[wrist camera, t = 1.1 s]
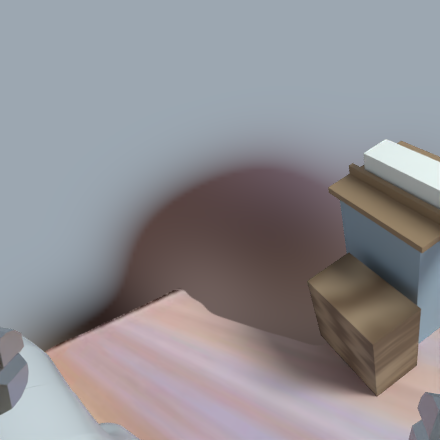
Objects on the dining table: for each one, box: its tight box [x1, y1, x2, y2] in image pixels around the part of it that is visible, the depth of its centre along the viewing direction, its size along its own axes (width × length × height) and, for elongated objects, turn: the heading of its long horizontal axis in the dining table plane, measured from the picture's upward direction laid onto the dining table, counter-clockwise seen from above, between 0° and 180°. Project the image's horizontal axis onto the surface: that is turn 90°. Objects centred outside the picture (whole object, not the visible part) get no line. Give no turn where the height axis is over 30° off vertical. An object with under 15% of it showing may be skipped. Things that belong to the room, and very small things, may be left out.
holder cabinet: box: [328, 141, 440, 344], centre depth 58 cm, size 16×14×28 cm
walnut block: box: [308, 253, 421, 396], centre depth 58 cm, size 13×8×16 cm, turn 28°
